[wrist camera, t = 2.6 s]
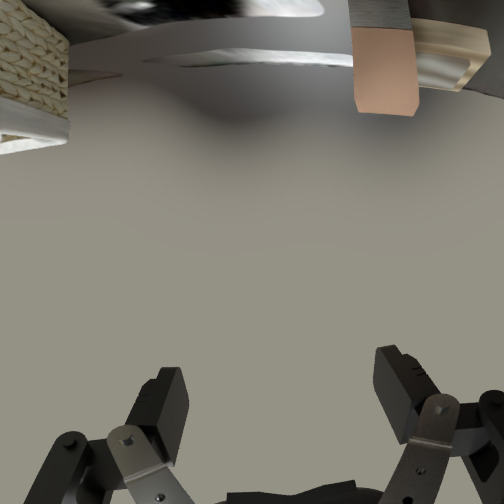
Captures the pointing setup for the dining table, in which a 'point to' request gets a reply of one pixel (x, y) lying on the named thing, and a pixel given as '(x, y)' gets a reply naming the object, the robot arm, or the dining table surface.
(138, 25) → the dining table surface
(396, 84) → the tapered tan block
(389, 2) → the housing base
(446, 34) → the stand
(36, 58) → the storage basket
